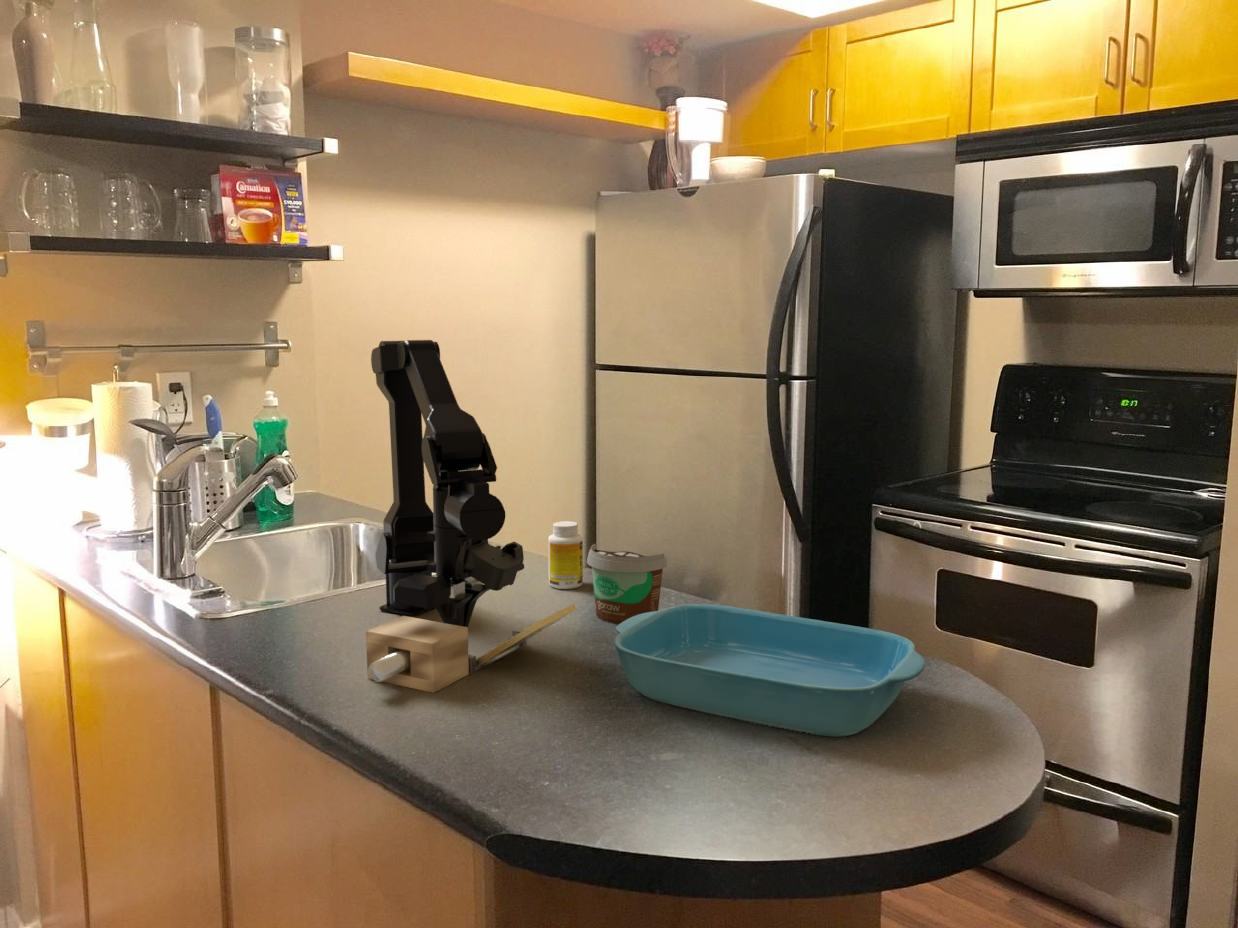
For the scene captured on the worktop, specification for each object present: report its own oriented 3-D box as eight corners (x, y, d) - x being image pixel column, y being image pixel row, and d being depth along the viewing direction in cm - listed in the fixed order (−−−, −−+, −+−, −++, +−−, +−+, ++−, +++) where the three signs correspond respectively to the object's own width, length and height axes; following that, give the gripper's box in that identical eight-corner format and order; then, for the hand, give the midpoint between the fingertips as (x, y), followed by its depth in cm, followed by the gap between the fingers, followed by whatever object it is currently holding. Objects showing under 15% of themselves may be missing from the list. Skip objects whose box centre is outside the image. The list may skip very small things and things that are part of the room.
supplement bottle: (585, 589, 168) (585, 526, 166) (551, 591, 167) (550, 528, 165) (579, 580, 173) (579, 519, 172) (545, 581, 172) (545, 520, 170)
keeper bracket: (461, 671, 131) (460, 656, 130) (516, 642, 142) (516, 628, 141) (471, 673, 130) (471, 658, 130) (526, 644, 141) (526, 630, 141)
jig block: (367, 678, 128) (365, 630, 127) (404, 660, 135) (403, 615, 134) (433, 692, 124) (432, 643, 123) (468, 674, 130) (467, 627, 129)
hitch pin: (362, 686, 124) (361, 650, 123) (431, 653, 135) (430, 620, 134) (392, 693, 122) (391, 656, 121) (459, 659, 133) (458, 625, 132)
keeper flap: (474, 668, 131) (470, 663, 132) (517, 645, 140) (515, 640, 140) (534, 630, 126) (531, 624, 126) (576, 609, 135) (573, 603, 135)
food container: (571, 619, 152) (571, 551, 151) (592, 608, 158) (592, 543, 156) (647, 632, 147) (648, 562, 145) (666, 620, 152) (667, 552, 150)
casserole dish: (578, 697, 123) (578, 638, 122) (666, 643, 142) (666, 592, 141) (890, 767, 105) (893, 699, 104) (943, 695, 124) (946, 637, 123)
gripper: (463, 546, 122) (466, 675, 125) (549, 516, 138) (549, 631, 141) (388, 535, 127) (392, 659, 130) (479, 508, 143) (481, 618, 146)
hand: (458, 641), depth 136 cm, fingers closed
